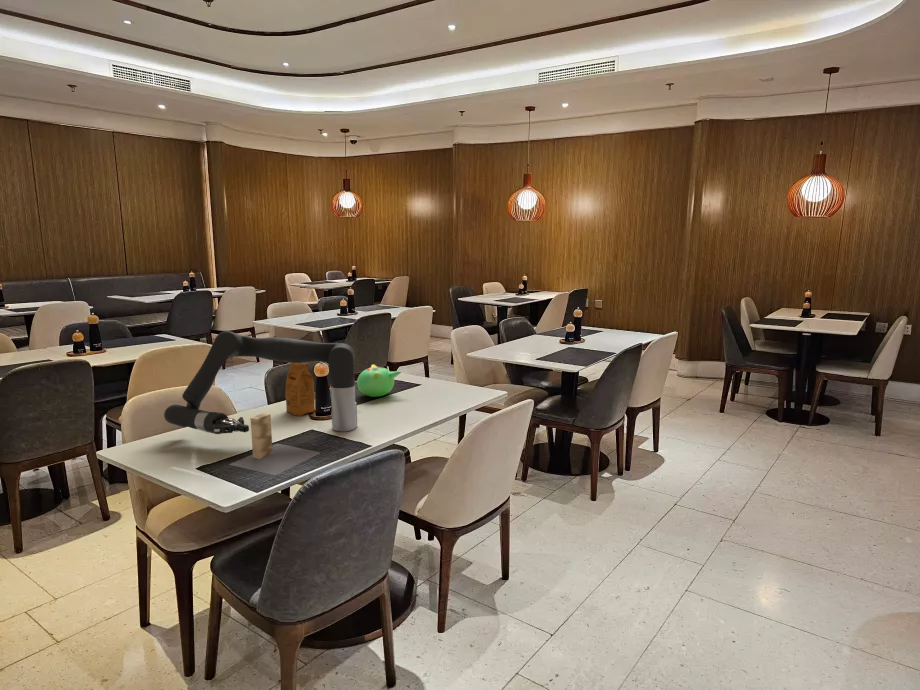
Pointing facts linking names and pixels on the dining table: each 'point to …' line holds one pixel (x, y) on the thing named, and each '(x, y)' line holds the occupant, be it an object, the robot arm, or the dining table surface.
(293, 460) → the charcoal placemat
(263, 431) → the oak card block
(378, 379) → the toy bird
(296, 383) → the coffee package
